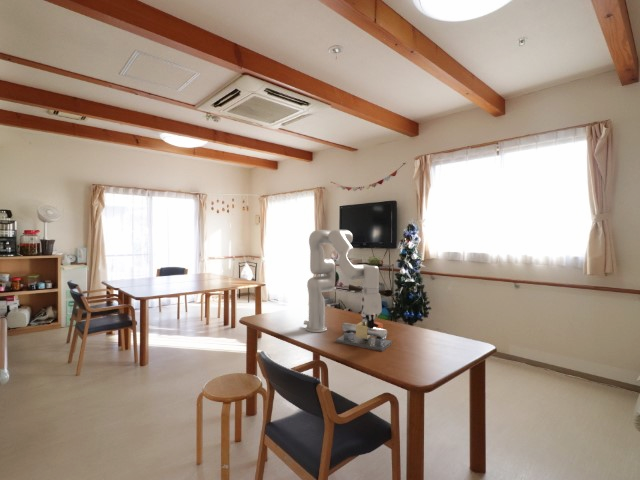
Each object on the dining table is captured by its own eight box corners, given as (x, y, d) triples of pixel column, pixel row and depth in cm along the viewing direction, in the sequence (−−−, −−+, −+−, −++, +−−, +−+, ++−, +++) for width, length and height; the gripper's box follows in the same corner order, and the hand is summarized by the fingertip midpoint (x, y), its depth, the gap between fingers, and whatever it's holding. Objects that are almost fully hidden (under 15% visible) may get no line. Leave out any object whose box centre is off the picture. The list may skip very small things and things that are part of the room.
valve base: (335, 341, 178) (336, 323, 178) (347, 335, 190) (348, 317, 190) (382, 351, 165) (382, 331, 165) (392, 343, 177) (392, 324, 177)
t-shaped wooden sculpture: (343, 323, 215) (344, 277, 214) (352, 321, 222) (353, 275, 221) (386, 334, 194) (387, 282, 193) (395, 330, 201) (395, 280, 200)
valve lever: (360, 323, 178) (360, 317, 178) (365, 322, 179) (365, 317, 179) (378, 330, 165) (378, 324, 165) (382, 329, 166) (382, 323, 166)
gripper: (363, 293, 160) (362, 331, 160) (387, 290, 167) (387, 327, 167) (354, 290, 166) (353, 327, 167) (378, 288, 174) (377, 324, 174)
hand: (370, 327), depth 167 cm, fingers closed
